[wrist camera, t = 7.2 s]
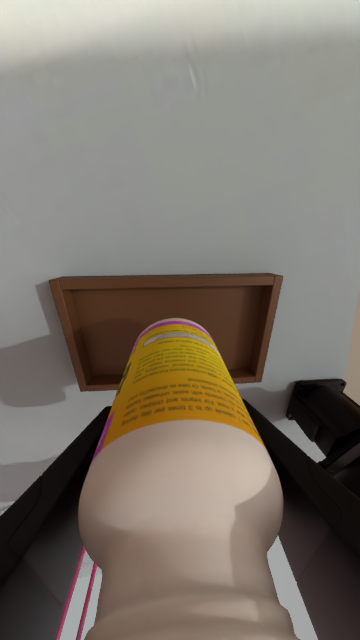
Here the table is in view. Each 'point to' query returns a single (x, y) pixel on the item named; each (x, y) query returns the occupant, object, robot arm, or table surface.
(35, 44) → the table surface
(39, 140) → the table surface
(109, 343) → the tray
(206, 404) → the supplement bottle
